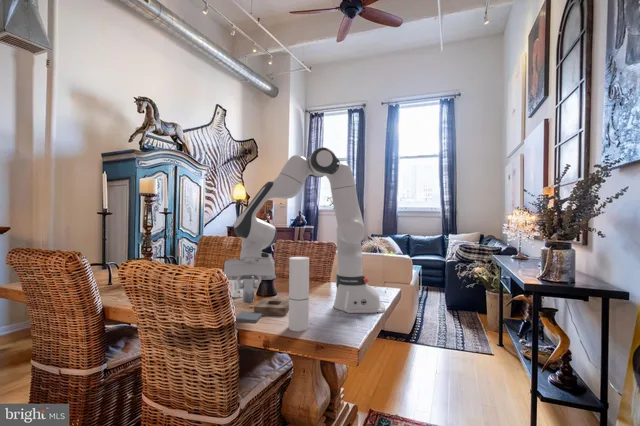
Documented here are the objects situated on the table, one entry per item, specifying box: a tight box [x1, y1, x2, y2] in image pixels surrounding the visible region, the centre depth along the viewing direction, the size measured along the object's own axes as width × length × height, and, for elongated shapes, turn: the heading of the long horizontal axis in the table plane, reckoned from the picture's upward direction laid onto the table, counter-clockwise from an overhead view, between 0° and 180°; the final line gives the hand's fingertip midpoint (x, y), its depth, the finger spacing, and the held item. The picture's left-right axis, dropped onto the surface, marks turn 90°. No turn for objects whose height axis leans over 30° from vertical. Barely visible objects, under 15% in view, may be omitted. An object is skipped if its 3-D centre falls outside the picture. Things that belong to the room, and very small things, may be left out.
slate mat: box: [235, 311, 264, 324], centre depth 121 cm, size 9×9×1 cm
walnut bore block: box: [253, 297, 289, 316], centre depth 132 cm, size 13×13×3 cm
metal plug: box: [242, 275, 256, 304], centre depth 121 cm, size 4×4×10 cm
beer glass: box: [230, 280, 243, 299], centre depth 153 cm, size 7×7×15 cm
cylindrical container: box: [288, 256, 310, 332], centre depth 112 cm, size 7×7×25 cm
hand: (248, 287), depth 121 cm, fingers closed on metal plug, 4 cm apart
